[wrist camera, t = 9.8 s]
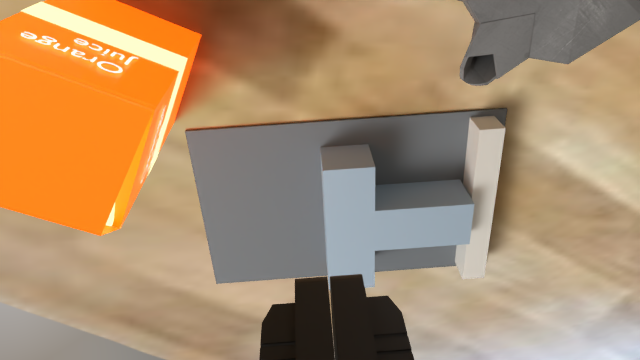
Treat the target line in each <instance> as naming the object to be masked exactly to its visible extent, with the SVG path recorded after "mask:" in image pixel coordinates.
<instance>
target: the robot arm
mask: <svg viewBox="0 0 640 360" xmlns="http://www.w3.org/2000/svg"><path fill="white" fill-rule="evenodd" d="M330 292H331V309H332V324H331V313H330V303H329V292H328V281H327V277H316V278H303V279H295V303H287V304H274V305H272V307H271V308H270V310H269V312H268V314H267V315H266V317H265V319H264V320H263V322H262V330H261V348H260V360H414V357H413V354H412V352H411V346H410V342H409V338H408V336H407V331H406V327H405V323H404V319H403V316H402V312H401V311H400V310H399V309H398V307H397V306H396V305H395V304H394V303H393V301H392V300H391V299H390V298H389V297H388V296H378V297H366V292H365V287H364V281H363V277H362V274H354V275H341V276H330ZM332 326H333V335H332ZM333 340H334V345H333ZM334 352H335V356H334Z"/></svg>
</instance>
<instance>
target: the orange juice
mask: <svg viewBox="0 0 640 360" xmlns="http://www.w3.org/2000/svg"><path fill="white" fill-rule="evenodd" d="M200 38H201V34H198V33H196V32H193V31H191V30H188V29H186V28H183V27H181V26H178V25H176V24H173V23H171V22H168V21H166V20H163V19H161V18H158V17H156V16H153V15H151V14H148V13H146V12H144V11H141V10H139V9H136V8H134V7H131V6H129V5H126V4H124V3H121V2H119V1H116V0H47V1H44V2H39V3H37V4H35V5H33V6H30V7H28V8H26V9H24V10H21V12H20V13H18V14H15V15H13V16H11V17H9V18H6V19H4V20H2V21H0V207H3V208H6V209H10V210H13V211H17V212H20V213H23V214H27V215H30V216H34V217H37V218H41V219H44V220H48V221H51V222H55V223H58V224H62V225H65V226H68V227H72V228H75V229H79V230H82V231H86V232H89V233H93V234H96V235H100V236H101V235H104V234H106V233H109V232H112V231H114V230H117V229H119V228H120V229H121V227H122V225H123V223H124V221H125V219H126V217H127V215H128V213H129V211H130V209H131V207H132V205H133V203H134V201H135V199H136V197H137V195H138V193H139V191H140V189H141V187H142V185H143V183H144V181H145V179H146V177H147V175H149V173H150V171H151V169H152V167H153V165H154V163H155V161H156V159H157V156H158V153H159V151H160V149H161V147H162V145H163V143H164V141H165V139H166V137H167V135H168V133H169V131H170V129H171V127H172V125H173V123H174V121H175V118H176V115H177V111H178V108H179V105H180V102H181V99H182V96H183V92H184V89H185V86H186V83H187V80H188V76H189V73H190V70H191V67H192V64H193V61H194V57H195V54H196V51H197V48H198V45H199V41H200ZM113 226H114V227H113ZM116 227H117V228H116Z"/></svg>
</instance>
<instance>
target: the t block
mask: <svg viewBox="0 0 640 360" xmlns="http://www.w3.org/2000/svg"><path fill="white" fill-rule="evenodd" d="M320 155H321V173H322V191H323V209H324V227H325V245H326V262H327V273H328V283H329V290H330V276H341V275H354V274H362V277H363V281H364V287H365V288H367V287H375V251H379V250H393V249H407V248H421V247H435V246H450V245H464V244H470V236H471V228H472V220H473V212H474V203H473V201H472V199H471V197H470V196H469V194H468V192H467V191H466V189H465V187H464V185H463V184H462V182H461V180H460V179H457V180H443V181H428V182H414V183H399V184H384V185H375V164H374V161H373V158H372V155H371V151H370V148H369V145H368V144H362V145H347V146H332V147H320Z"/></svg>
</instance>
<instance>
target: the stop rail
mask: <svg viewBox="0 0 640 360" xmlns="http://www.w3.org/2000/svg"><path fill="white" fill-rule="evenodd" d="M505 129H506V128H505V127H504V126H503V125H502V124H501V123H500V122H499V120H498V119H497V118H496V117H495V116H483V117H470V120H469V130H468V140H467V149H466V159H465V169H464V178H463V185H464V187H465V189H466V191H467V192H468V194H469V196H470V197H471V199H472V201H473V203H474V212H473V220H472V228H471V236H470V244H464V245H457V246H456V256H455V263H456V266H457V268H458V270H459V272H460V275H461V277H462V279H472V278H484V275H485V268H486V261H487V254H488V247H489V240H490V233H491V226H492V219H493V212H494V205H495V198H496V191H497V184H498V178H499V171H500V164H501V157H502V150H503V143H504V136H505Z"/></svg>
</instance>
